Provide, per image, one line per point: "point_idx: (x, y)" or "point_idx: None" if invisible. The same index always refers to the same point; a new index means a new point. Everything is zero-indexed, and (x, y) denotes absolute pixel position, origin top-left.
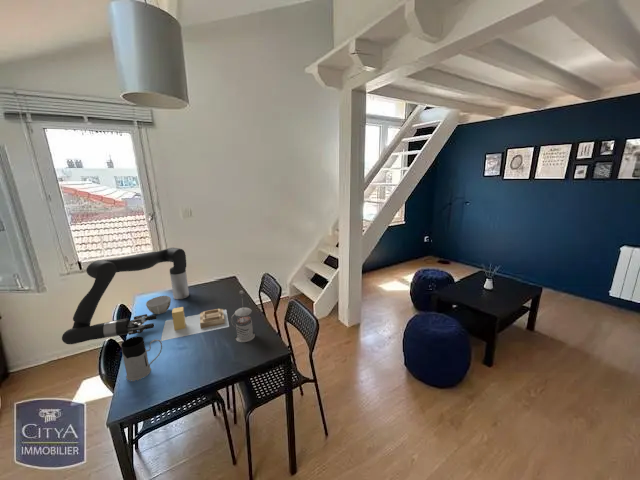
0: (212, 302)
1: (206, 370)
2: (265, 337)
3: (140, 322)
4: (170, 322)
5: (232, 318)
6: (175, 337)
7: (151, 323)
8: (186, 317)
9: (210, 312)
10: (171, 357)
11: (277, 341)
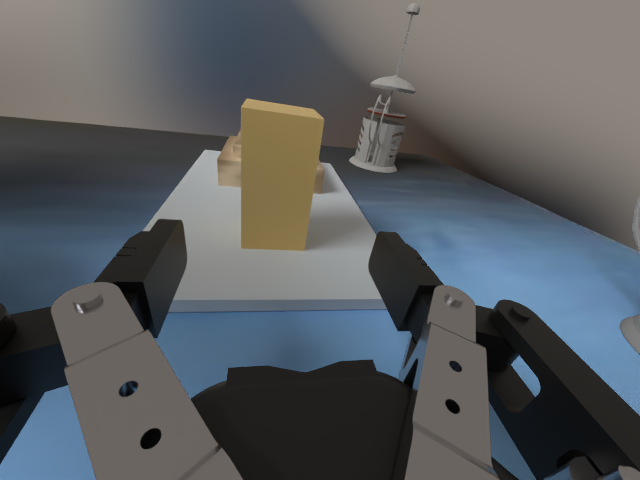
0: (63, 159)
1: (518, 211)
2: None
3: (336, 365)
4: None
5: (372, 118)
6: None
7: (389, 238)
8: (167, 213)
9: None
10: (510, 264)
11: None
